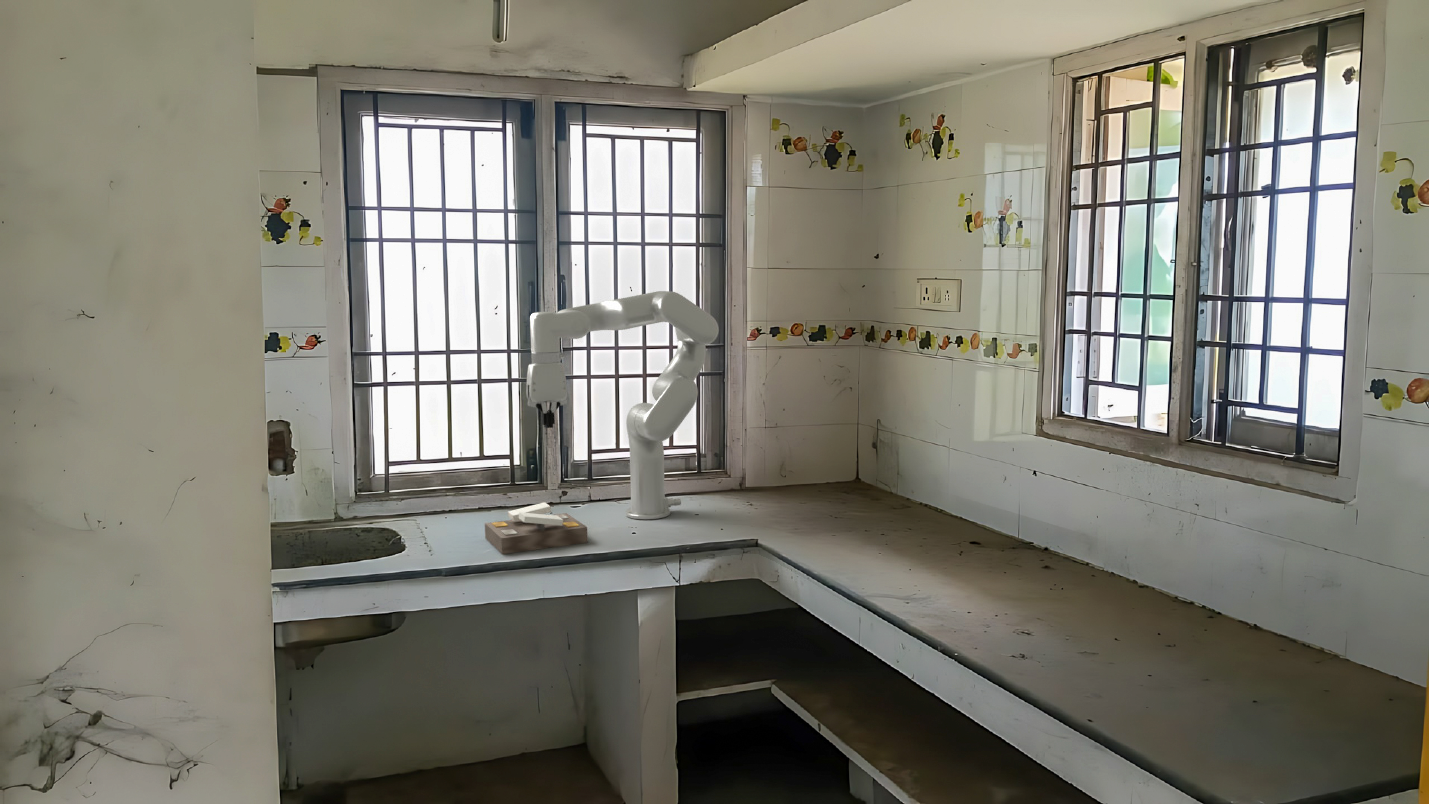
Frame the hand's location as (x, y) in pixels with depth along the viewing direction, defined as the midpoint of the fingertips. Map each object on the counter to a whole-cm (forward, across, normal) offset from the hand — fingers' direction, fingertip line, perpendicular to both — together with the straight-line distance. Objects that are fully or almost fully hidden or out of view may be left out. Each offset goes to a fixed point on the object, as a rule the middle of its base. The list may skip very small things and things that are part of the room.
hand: (548, 427), depth 277 cm
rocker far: (+22, +8, +8) cm, 24 cm away
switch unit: (+27, +8, +12) cm, 31 cm away
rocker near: (+22, +8, +16) cm, 28 cm away
